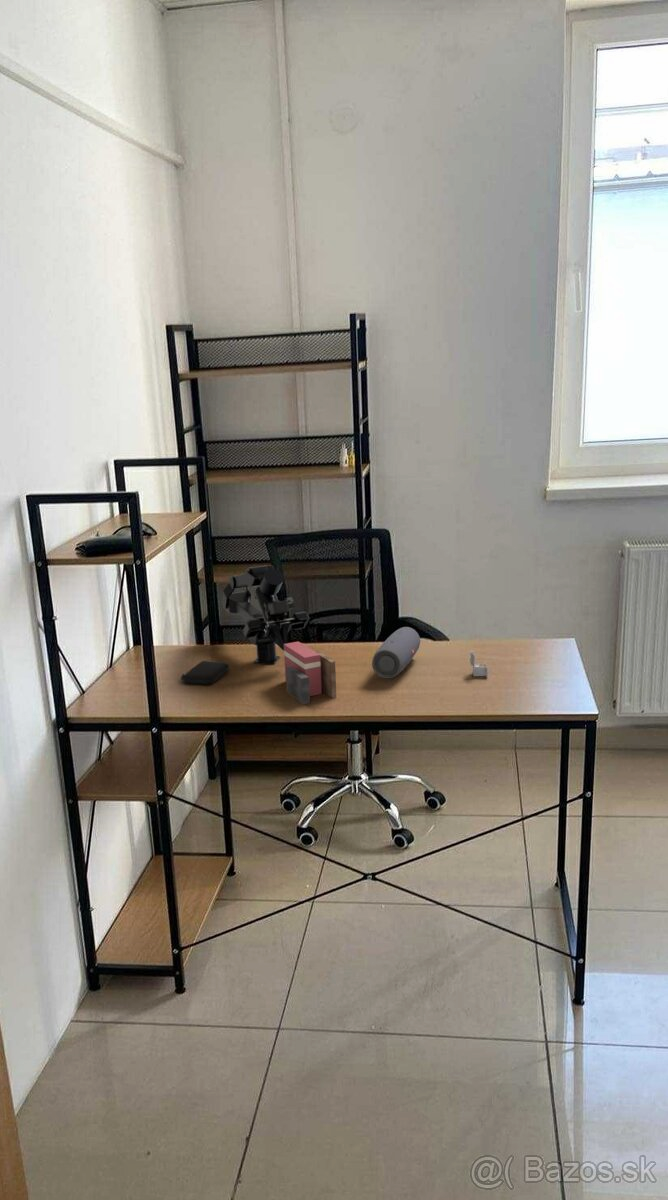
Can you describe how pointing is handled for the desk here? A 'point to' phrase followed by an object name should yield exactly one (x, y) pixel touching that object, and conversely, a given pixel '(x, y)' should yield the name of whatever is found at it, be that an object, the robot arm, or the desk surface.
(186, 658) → the desk surface
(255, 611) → the robot arm
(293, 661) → the book
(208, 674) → the carrying case or bag
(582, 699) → the desk surface
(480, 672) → the architectural model
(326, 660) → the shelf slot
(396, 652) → the bluetooth speaker
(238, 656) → the desk surface
